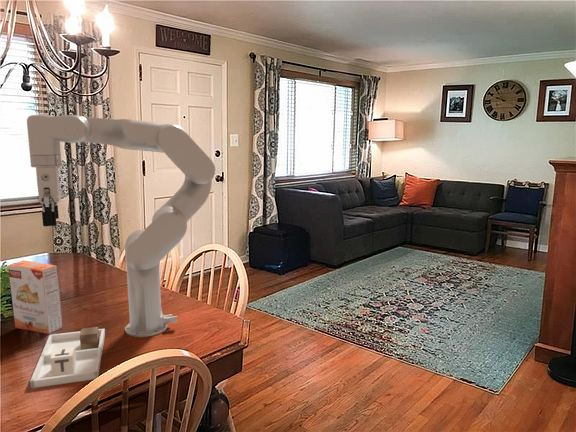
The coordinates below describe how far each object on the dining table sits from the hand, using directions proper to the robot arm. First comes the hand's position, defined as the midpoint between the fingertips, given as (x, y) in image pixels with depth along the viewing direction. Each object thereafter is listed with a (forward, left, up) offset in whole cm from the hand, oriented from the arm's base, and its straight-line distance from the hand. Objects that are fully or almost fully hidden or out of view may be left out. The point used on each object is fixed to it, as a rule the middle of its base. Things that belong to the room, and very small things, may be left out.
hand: (51, 222), depth 130 cm
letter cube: (-3, +20, -35) cm, 40 cm away
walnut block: (-8, +7, -35) cm, 37 cm away
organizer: (-4, +13, -36) cm, 38 cm away
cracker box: (+8, -11, -36) cm, 38 cm away
